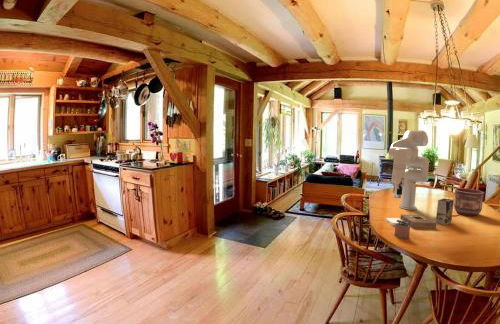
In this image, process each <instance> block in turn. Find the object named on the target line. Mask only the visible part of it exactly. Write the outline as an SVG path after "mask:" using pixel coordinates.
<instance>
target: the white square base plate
mask: <svg viewBox="0 0 500 324" xmlns="http://www.w3.org/2000/svg"><path fill="white" fill-rule="evenodd" d="M397 220H401V219H400V218H399V217H385V222H386V223H387V224H389V225H390V226H392V227H395V223H399V222H397ZM401 221H402V220H401ZM400 224H401V223H400Z"/></svg>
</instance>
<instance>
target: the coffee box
mask: <svg viewBox="0 0 500 324" xmlns="http://www.w3.org/2000/svg"><path fill="white" fill-rule="evenodd" d="M454 202H455V199H448V198H441V199H440V198H439V199H438V200H437V208H436V217H435V218H436V219H435V222H436V223H437V224H440V225H444V226H447V225H449V224H451V223H452V221H453V220H452V219H453V212H454V211H453V210H454V209H453V208H454Z"/></svg>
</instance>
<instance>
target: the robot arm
mask: <svg viewBox="0 0 500 324" xmlns="http://www.w3.org/2000/svg"><path fill="white" fill-rule="evenodd" d="M428 143H429V136H428V134H427V132H426V131H424V130H418V129H416V130H413V129H412V130H410V129H409V130H407V131H404V133H403V135H402V137H401V139H399V140H397V141H394V142H393V143H391V145H390V147H389V150H388V156H389V157H390V158H392V159H393V166H392V174H391V180H390V181H391V183H393V191H392V192H393V194H394V189H395V184H398V189H397V195H401V201H400V204H399V205H398V207H399V208H400V209H403V210H410V211H415V210H417V209H418V207H417V206H415V204H416V203H415V202H416V194H417V192H416V190H417V186H416V184H415V183H421V184H422V183H423V184H424V183H427V181H428V177H429V162H430V160H429V159H428V157H426V156H419V148H418V147H426V146H427V145H428ZM407 168H409V169H407ZM419 169H420V170H419ZM400 183H401V184H400ZM399 185H400V186H399Z"/></svg>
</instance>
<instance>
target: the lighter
mask: <svg viewBox="0 0 500 324" xmlns="http://www.w3.org/2000/svg"><path fill="white" fill-rule="evenodd" d="M397 222H399V223H395V226H394V237H397V238H399V239H404V238H405V239H406V240H410V230H411V227H410V226H409V225H408V222H405V221H401V220H397ZM400 223H401V224H400ZM405 239H404V240H405Z"/></svg>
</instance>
